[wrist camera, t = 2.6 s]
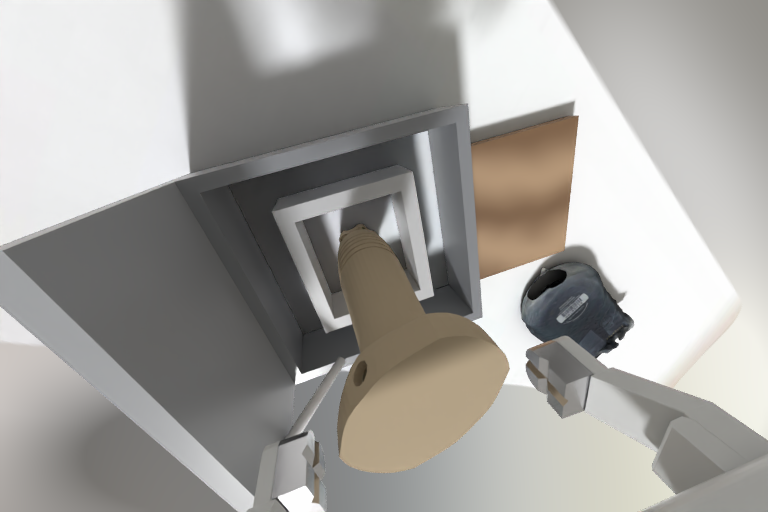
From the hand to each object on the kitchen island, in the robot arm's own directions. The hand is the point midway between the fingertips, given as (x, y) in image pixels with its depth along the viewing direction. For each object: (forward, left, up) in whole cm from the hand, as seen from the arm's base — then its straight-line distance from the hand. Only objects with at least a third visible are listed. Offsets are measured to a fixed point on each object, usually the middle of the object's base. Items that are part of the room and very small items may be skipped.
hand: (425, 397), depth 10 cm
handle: (0, 0, -15) cm, 15 cm away
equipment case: (0, 0, -14) cm, 14 cm away
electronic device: (+16, +21, -15) cm, 30 cm away
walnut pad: (+1, +14, -14) cm, 20 cm away
